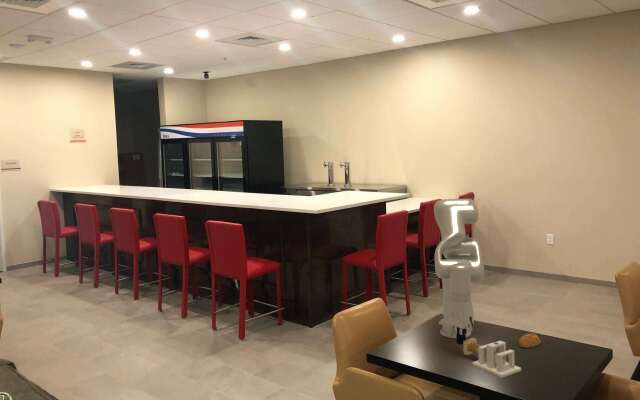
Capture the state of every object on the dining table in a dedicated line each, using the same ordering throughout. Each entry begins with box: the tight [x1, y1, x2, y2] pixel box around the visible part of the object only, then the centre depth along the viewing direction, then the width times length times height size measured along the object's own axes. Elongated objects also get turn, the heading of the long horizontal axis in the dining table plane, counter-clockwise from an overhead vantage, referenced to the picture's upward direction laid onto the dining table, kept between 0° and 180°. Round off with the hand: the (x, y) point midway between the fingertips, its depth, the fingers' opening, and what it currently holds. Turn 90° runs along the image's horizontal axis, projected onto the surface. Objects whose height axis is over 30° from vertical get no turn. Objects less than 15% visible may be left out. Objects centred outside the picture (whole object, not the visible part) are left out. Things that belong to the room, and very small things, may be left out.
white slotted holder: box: [471, 340, 522, 379], centre depth 181 cm, size 13×10×9 cm
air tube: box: [462, 337, 507, 363], centre depth 186 cm, size 16×5×5 cm, turn 30°
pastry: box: [518, 332, 542, 349], centre depth 201 cm, size 9×7×4 cm
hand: (461, 343), depth 195 cm, fingers closed
